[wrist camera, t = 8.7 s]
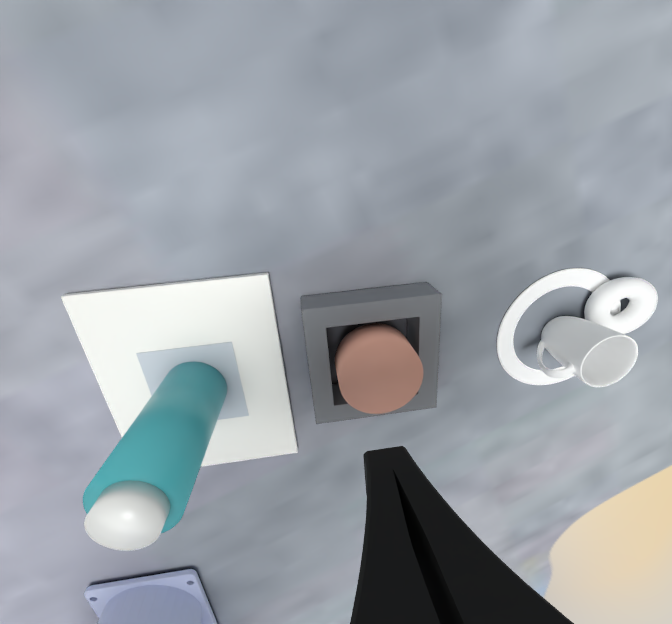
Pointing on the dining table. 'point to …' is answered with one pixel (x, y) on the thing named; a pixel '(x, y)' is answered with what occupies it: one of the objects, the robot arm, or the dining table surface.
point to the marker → (156, 461)
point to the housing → (366, 307)
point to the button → (377, 369)
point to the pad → (193, 355)
